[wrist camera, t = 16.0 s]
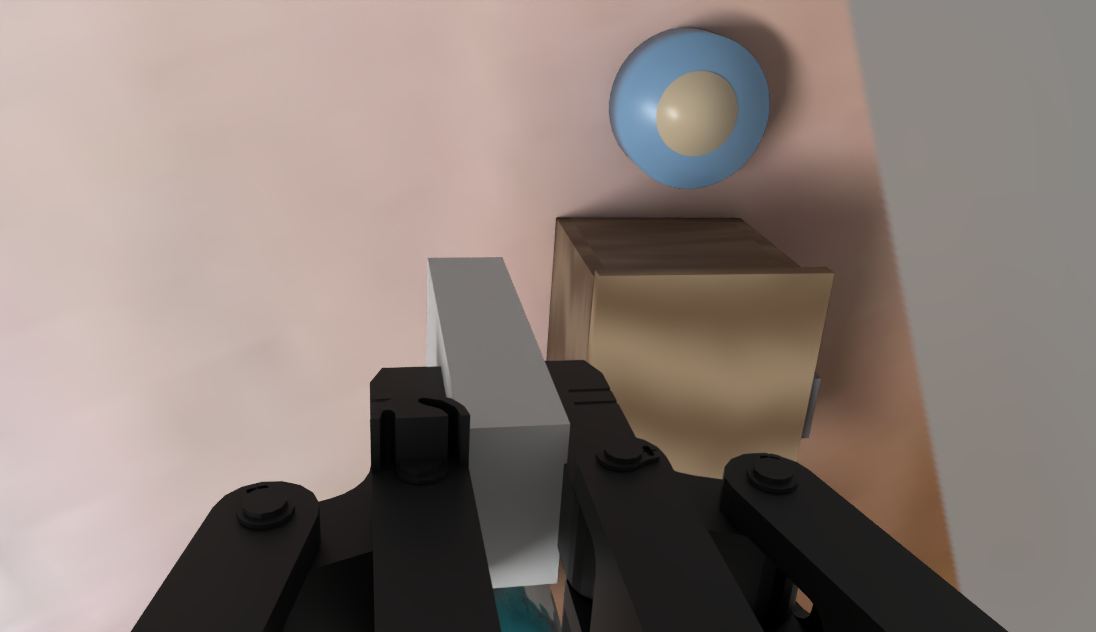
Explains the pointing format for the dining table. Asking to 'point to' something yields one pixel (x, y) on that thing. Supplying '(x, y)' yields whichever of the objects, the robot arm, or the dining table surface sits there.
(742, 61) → the blue beige round disc
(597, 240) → the box
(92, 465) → the dining table surface
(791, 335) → the lid
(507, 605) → the vase
